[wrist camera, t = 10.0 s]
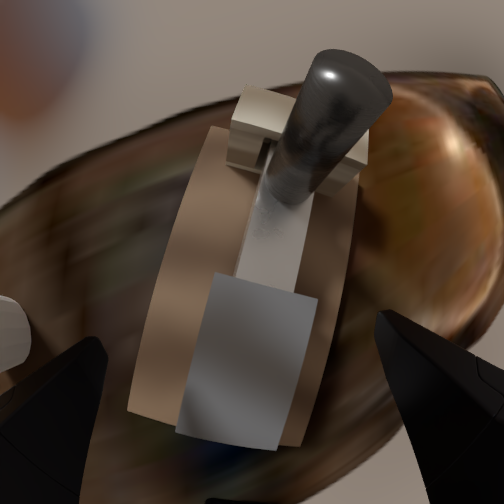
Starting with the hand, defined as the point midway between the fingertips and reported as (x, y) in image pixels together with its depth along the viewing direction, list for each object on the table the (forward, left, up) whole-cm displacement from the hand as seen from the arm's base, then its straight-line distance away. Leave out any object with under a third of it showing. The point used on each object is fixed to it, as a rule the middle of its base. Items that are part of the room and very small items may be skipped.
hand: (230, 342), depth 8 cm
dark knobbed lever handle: (+5, -1, -8) cm, 10 cm away
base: (+3, -1, -11) cm, 11 cm away
